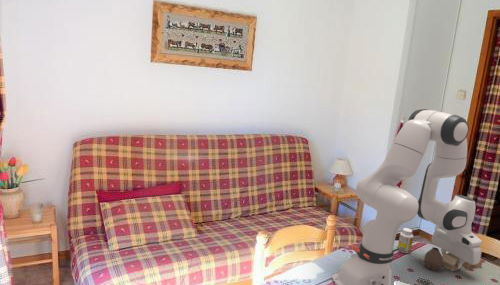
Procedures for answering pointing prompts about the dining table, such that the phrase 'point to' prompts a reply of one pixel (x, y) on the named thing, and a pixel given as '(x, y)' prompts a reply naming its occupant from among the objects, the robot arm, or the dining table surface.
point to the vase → (433, 259)
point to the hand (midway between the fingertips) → (451, 263)
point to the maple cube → (450, 261)
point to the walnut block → (469, 266)
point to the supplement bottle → (405, 240)
